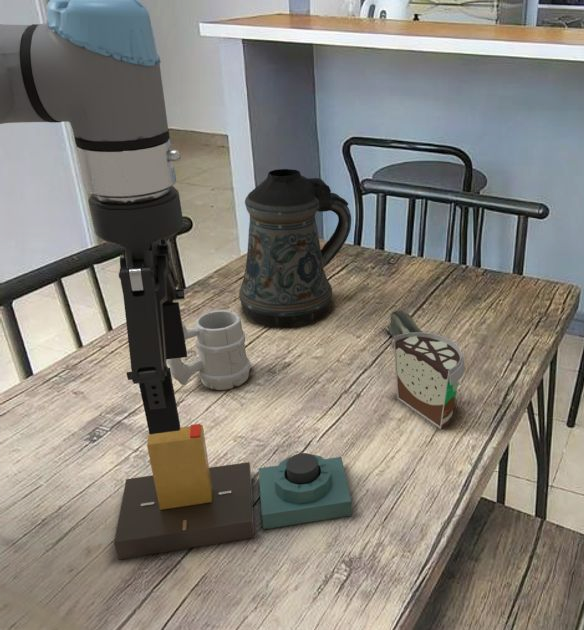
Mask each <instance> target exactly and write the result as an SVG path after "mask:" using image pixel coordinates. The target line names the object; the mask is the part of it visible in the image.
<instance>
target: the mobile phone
mask: <svg viewBox="0 0 584 630" xmlns="http://www.w3.org/2000/svg"><path fill="white" fill-rule="evenodd" d="M389 319H390V320H389V321H390V322H389V323H390V324H389V325H390V326H389V325H386V326H385V330H386V331H387V332H388V333H389V334H390V335H391V336H392V337H393V338H394V336H397V335H400V334H405V333H414V332H423V333H424V331H423V330H422V329H421V328H420V327H419V326H418V325H417V323H416V322H415V320H414V318H413V317H412V316H411V315H410V314H409V313H407V312H404V311H403V310H396V311H392V312H391V314H390V318H389Z"/></svg>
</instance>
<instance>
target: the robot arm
mask: <svg viewBox="0 0 584 630" xmlns="http://www.w3.org/2000/svg"><path fill="white" fill-rule="evenodd" d="M46 13H47V18H46V23H45V22H44V23H38V24H37V23H35V24H34V23H33V24H32V23H31V24H4V23H3V24H0V125H3V124H14V123H15V124H16V123H17V124H18V123H54V124H55V123H62V122H65V123H70V126H71V129H72V132H73V136H74V142H75V148H76V153H77V157H78V162H79V163H78V164H79V168H80V173H81V178H82V182H83V187H84V190H85V191H86V192H87V193H88V194H90V197H89V198H88V199H87V202H88V207H89V212H90V216H91V221H92V226H93V230H94V234H95V235H96V237H97V238H98V239H100V240H101V241H104V242H105V243H109V244H116V245H118V246H121V247H122V248H123V249H122V251H123V256H122V257H119V272H118V278H119V280H120V285H121V290H122V297H123V304H124V305H123V306H124V315H125V323H126V334H127V341H128V351H129V359H130V371H127V372H126V378H127V380H128V381H131V382H132V383H133V384H134V385H137V384H138V386H139V391H140V395H141V401H142V404H143V409H144V414H145V419H146V424H147V425H146V426H147V429H148V435H149V434H157V433H165V432H172V431H180V427H181V422H180V416H179V410H178V406H177V399H176V394H175V389H174V388H175V387H174V384H173V376H172V374H171V371H170V367H169V365H167V364H168V362H167V360H166V359H175V358H181V359H182V358H184V359H185V358H187V357H188V351H187V345H186V340H185V338H184V332H183V326H182V322H183V320H182V315H181V309H180V302H179V300H181V301H182V300H185V297H186V295H185V288H178V285H179V280H178V277H177V274H176V271H175V266H174V263H173V260H172V259H173V258H172V255H171V249H170V245H169V243H168V240H167V239H169V238H171V237H174V236H175V235H176V234H178V233H179V232H180V231H181V230H182V228H183V226H184V218H183V211H182V204H181V197H180V192H179V190H178V189H177V188H176V187H175V186H174V185H175V184H176V182H177V177H176V168H175V164H174V162H178V161H180V160H181V153H180V151H179V149H170V147H171V143H172V142H171V137H170V129H169V125H168V124H169V123H168V116H167V111H166V102H165V94H164V87H163V79H162V71H161V63H162V62H161V56H160V55H159V53H158V49H157V44H156V39H155V36H154V30H153V26H152V20H151V15H150V13H149V10H148V9H147V7H146V6H145V5H144V3H142V2H141V1H140V0H49V1H48V2H47V4H46ZM174 301H175V302H174Z"/></svg>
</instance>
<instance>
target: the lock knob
mask: <svg viewBox="0 0 584 630" xmlns="http://www.w3.org/2000/svg"><path fill="white" fill-rule="evenodd" d="M204 430H205V429H204V425H203V424H201V423H196V424H195V423H194V424H190V425H188V426H182V427H181V426H180V431H172V432H165V433H157V434H149V433H148V436H147V442H146V447H147V452H148V457H149V462H150V467H151V471H152V472H151V473H152V475H153V477H154V482H155V487H156V492H157V497H158V502H159V507H160V510H162V509H169V508H176V507H183V506H189V505H196V504H203V503H209V502H212V483H211V476H210V469H209V468H210V465H209V464H210V463H209V456H208V452H207V444H206V438H205V433H204Z"/></svg>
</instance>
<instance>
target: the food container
mask: <svg viewBox="0 0 584 630" xmlns="http://www.w3.org/2000/svg"><path fill="white" fill-rule="evenodd" d="M391 349H393V351H394V352H393V353H394V368H395V383H396V397H397V400H398V401H399V402H401V403H402V404H404V405H406V406H407V407H409V408H410V409H412V410H413V411H414V412H415V413H417V414H418V415H420V416H421V417H422V418H424V419H425V420H427V421H429V422H430V423H431V424H433V425H434V426H436V427H437V428H438V429H440V430H443V428H445V427H446V426H448V425H449V423H450V422H451V421H452V419H453V415H454V408H455V402H456V397H457V392H458V391H457V390H458V385H459V381H460V380H461V378H462V377H463V376H464V373H465V371H466V364H465V358H464V355H463V352H462V350H461V348H460V346H459V345H458V344H457V343H456V342H455V341H453V340H452V339H450V338H448V337H445V336H443V335H440V334H437V333H431V332H424V331H423V332H414V333H405V334H400V335H397V336H394V337H393V339H392V341H391Z"/></svg>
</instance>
